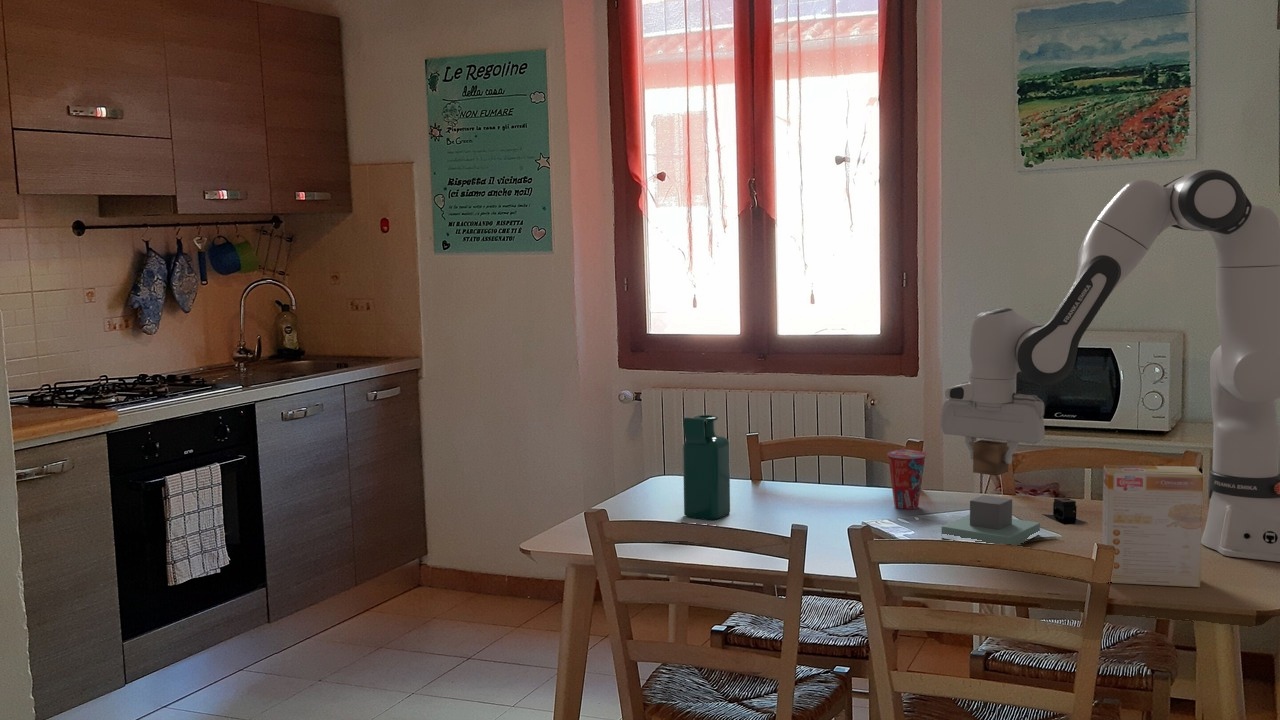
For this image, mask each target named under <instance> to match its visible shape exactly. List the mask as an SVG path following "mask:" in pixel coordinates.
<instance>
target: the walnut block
mask: <svg viewBox="0 0 1280 720" xmlns="http://www.w3.org/2000/svg"><path fill="white" fill-rule="evenodd" d="M1009 448H1010V447H1007V441H1002V440H993V439H984V438H982V439H980V440H976V441H974V447H973V460H972V463H973V465H972V473H974V474H975V473H976V474H981V475H990V476H995V477H997V476H1000V475H1003V474H1005V473H1008V472H1009V464H1004V463H1002V462H1001V460H1002V458H1001V455H1002V454H1005V453H1007V451H1008V450H1009Z"/></svg>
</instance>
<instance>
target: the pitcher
mask: <svg viewBox="0 0 1280 720" xmlns="http://www.w3.org/2000/svg"><path fill="white" fill-rule="evenodd" d="M718 420H719V417H718V416H717V415H713V414H700V415H696V416H694V417H684V418H683V431H684V432H683V433H684V439H685V440H684V442H683V444H682V460H683V461H682V465H683V466H682V467H683V469H682V470H683V472H682V473H683V474H682V475H683V514H684V516H685V517H686V518H690V519H699V520H707V521H716V520H719V519H721V518H723V517H725V516H727V515H729V514H730V512H731V484H730V481H731V477H730V475H731V474H730V473H731V472H730V471H731V469H730V466H731V465H730V443H729V440H728V439H727V438H726V437H724V436H722V435H716V433H715V421H718Z"/></svg>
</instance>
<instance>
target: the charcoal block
mask: <svg viewBox="0 0 1280 720" xmlns="http://www.w3.org/2000/svg"><path fill="white" fill-rule="evenodd" d="M969 515H970V526H977V527H983V528H989V529H995V530H1000V529H1002V528H1004V527H1006V526H1009V525H1011V524H1012V519H1013V498H1008V497H1000V496H993V495H986V494H983V495H980V496H978V497H976V498H972V499H971V500H970V501H969Z"/></svg>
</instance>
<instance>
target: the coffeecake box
mask: <svg viewBox="0 0 1280 720" xmlns="http://www.w3.org/2000/svg"><path fill="white" fill-rule="evenodd" d="M1102 476H1103V477H1102V478H1103V480H1102V481H1103V482H1102V483H1103V484H1102V487H1103V488H1102V530H1101V532H1102V533H1101V534H1102V537H1101V538H1102V540H1101V544H1105V545H1113V546H1115V560H1114V568H1113V576H1112V583H1111V584H1124V585H1126V584H1127V585H1142V586H1143V585H1144V586H1145V585H1146V586H1163V587H1164V586H1165V587H1166V586H1167V587H1184V588H1186V587H1187V588H1200V587H1201V573H1202V572H1201V571H1202V543H1201V538H1202V535H1203V531H1202V528H1203V527H1202V526H1203V493H1204V492H1203V491H1204V490H1203V487H1204V486H1203V485H1204V475H1203V473H1201V471H1199V470H1198V468H1197V466H1180V465H1179V466H1176V465H1175V466H1173V465H1171V466H1170V465H1169V466H1167V465H1165V466H1164V465H1131V464H1130V465H1125V464H1122V465H1119V464H1104V465H1103V475H1102Z"/></svg>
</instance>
